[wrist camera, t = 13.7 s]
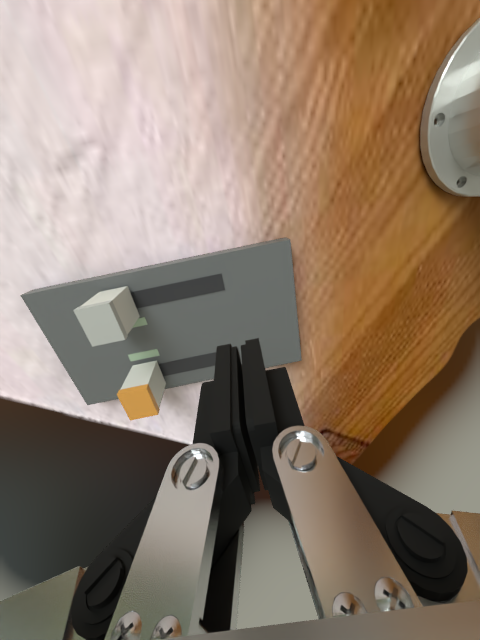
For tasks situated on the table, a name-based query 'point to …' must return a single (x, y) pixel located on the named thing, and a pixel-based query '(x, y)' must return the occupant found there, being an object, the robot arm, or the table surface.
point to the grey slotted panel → (178, 317)
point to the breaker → (108, 316)
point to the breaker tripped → (142, 390)
